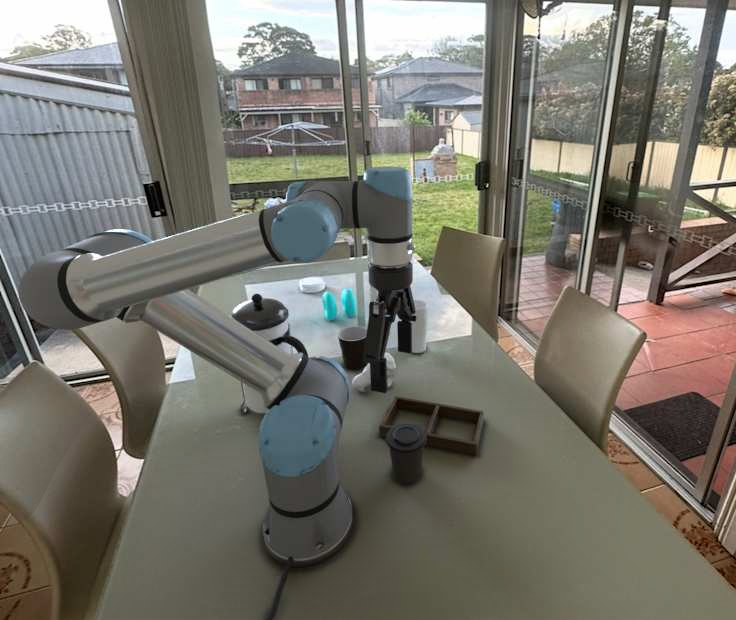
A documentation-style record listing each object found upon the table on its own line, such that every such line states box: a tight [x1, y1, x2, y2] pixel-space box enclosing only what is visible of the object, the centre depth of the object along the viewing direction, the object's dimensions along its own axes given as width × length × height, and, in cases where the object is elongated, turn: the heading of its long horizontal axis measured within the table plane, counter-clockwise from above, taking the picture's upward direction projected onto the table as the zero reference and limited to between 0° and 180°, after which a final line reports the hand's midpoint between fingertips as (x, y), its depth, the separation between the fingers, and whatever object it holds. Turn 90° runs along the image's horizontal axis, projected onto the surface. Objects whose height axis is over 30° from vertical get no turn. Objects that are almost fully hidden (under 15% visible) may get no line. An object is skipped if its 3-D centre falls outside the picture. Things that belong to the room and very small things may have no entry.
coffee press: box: [229, 293, 309, 415], centre depth 103 cm, size 17×16×30 cm
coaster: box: [298, 276, 326, 294], centre depth 178 cm, size 10×10×4 cm
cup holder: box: [379, 395, 485, 457], centre depth 100 cm, size 11×22×3 cm, turn 74°
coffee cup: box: [384, 422, 427, 485], centre depth 87 cm, size 8×8×10 cm
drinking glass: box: [409, 299, 429, 354], centre depth 131 cm, size 7×7×15 cm
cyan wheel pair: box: [322, 288, 357, 321], centre depth 152 cm, size 10×10×10 cm
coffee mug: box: [337, 325, 368, 371], centre depth 126 cm, size 12×9×10 cm
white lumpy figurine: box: [351, 351, 397, 393], centre depth 115 cm, size 6×8×12 cm
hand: (393, 370), depth 82 cm, fingers open, 13 cm apart
